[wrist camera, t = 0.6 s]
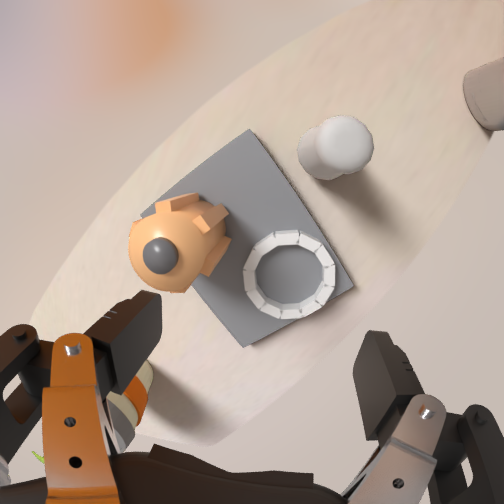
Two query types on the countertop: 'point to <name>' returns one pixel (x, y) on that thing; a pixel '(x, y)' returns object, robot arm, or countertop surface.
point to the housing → (238, 243)
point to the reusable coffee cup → (130, 406)
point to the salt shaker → (335, 147)
